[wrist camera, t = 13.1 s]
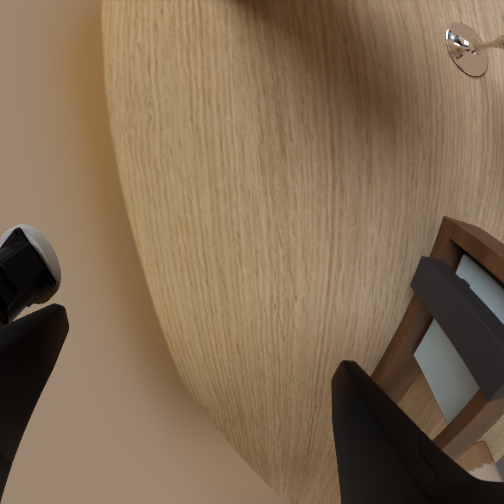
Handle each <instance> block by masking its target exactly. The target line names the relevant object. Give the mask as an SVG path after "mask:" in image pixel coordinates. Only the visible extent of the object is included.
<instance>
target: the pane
mask: <svg viewBox="0 0 504 504" xmlns="http://www.w3.org/2000/svg"><path fill="white" fill-rule="evenodd" d="M410 286H411V287H412V289H413V290H414V291H415V293H416V294H417V295H418V297H419V298H420V299H421V301H422V302H423V303H424V305H425V306H426V307H427V309H428V310H429V312H430V313H431V314H432V316H433V317H434V319H433V321H432V323H431V325H430V327H429V329H428V331H427V332H426V334H425V336H424V338H423V340H422V341H421V343H420V345H419V346H418V348H417V350H416V352H415V353H414V357H415V358H416V360H417V362H418V364H419V366H420V368H421V370H422V372H423V374H424V376H425V378H426V380H427V382H428V384H429V386H430V388H431V390H432V392H433V394H434V396H435V399H436V401H437V403H438V405H439V407H440V409H441V411H442V414H443V416H444V418H445V420H446V423H447V425H449V424H450V422H451V421H452V420H453V419H454V418H455V417H456V416H457V415H458V414H459V413H460V411H461V410H462V409H463V408H464V407H465V406H466V405H467V403H468V402H469V401H470V400H471V399H472V397H473V396H474V395H475V394H476V393H477V391H478V390H479V389H480V390H481V391H482V393H483V395H484V396H485V398H486V400H487V402H490V401H494V400H498V399H501V398H504V285H503V284H502V283H501V282H500V281H499V280H498V279H497V278H496V277H495V276H494V275H492V274H491V273H490V272H489V271H488V270H487V269H486V268H485V267H483V266H482V265H481V264H480V263H479V262H478V261H476V260H475V259H474V258H473V257H472V256H470V255H468V254H463V256H462V259H461V261H460V264H459V266H458V269H457V271H456V273H455V272H454V271H453V270H452V269H451V268H450V267H449V266H447V265H446V264H445V263H444V262H443V261H442V260H439V259H434V258H429V257H424V256H422V257H421V260H420V263H419V265H418V268H417V270H416V273H415V275H414V277H413V280H412V282H411V285H410Z"/></svg>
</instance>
